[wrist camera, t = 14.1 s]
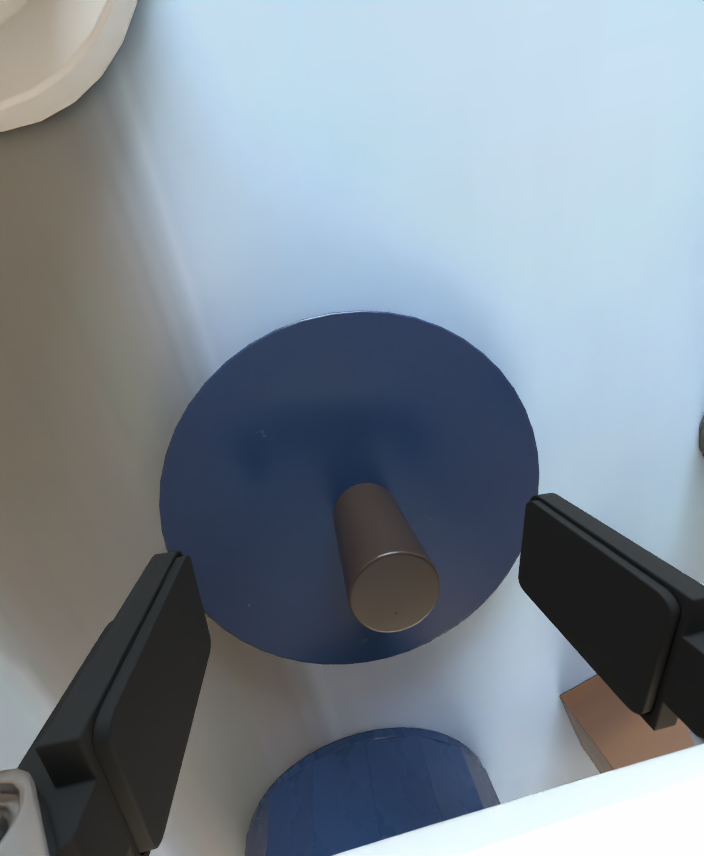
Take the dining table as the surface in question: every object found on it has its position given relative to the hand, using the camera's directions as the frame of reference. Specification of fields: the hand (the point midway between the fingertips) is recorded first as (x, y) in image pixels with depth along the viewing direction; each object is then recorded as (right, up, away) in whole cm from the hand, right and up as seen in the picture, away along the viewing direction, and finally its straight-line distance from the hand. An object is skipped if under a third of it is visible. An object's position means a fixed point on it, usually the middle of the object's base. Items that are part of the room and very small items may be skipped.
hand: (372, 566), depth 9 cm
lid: (0, 0, +6) cm, 6 cm away
